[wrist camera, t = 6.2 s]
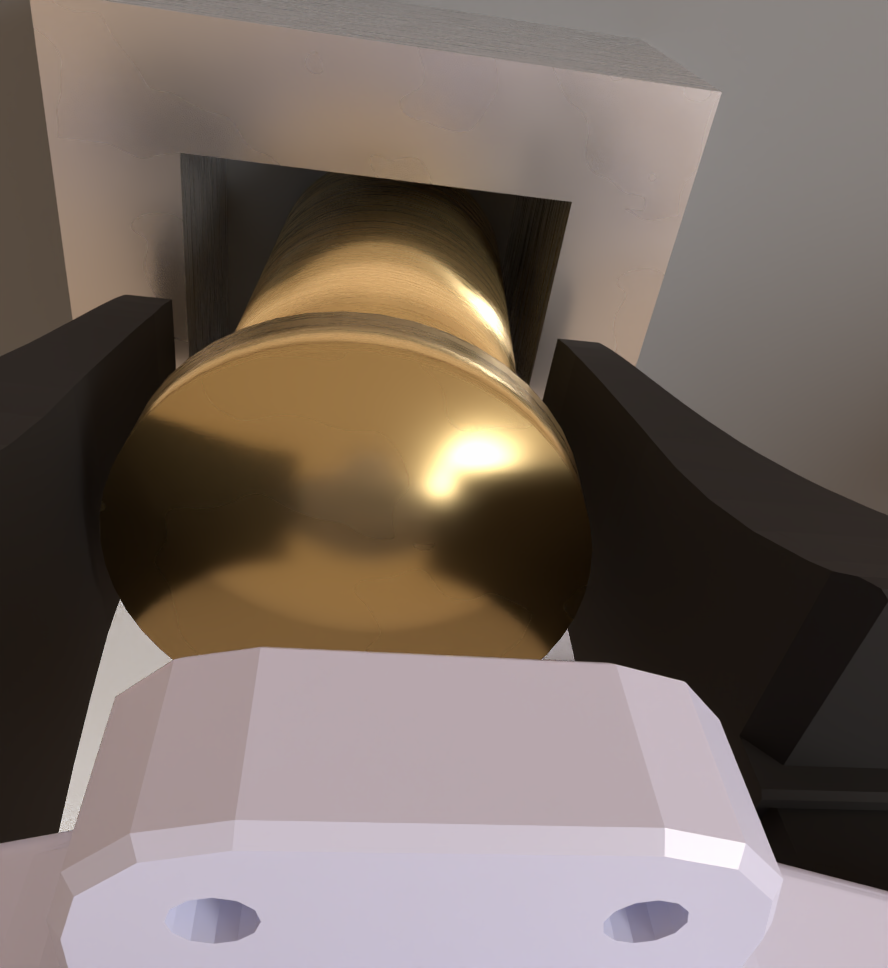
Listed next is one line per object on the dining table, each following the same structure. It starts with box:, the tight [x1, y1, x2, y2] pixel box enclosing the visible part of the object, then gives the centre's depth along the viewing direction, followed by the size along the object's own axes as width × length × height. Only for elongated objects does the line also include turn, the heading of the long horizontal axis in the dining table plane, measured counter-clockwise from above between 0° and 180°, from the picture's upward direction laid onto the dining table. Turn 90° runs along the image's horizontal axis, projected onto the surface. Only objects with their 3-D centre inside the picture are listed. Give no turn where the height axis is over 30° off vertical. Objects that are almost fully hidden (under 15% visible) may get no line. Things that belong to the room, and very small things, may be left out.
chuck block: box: [30, 0, 722, 400], centre depth 14 cm, size 8×8×4 cm
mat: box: [0, 0, 888, 515], centre depth 16 cm, size 23×16×1 cm
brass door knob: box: [100, 172, 592, 660], centre depth 12 cm, size 5×5×8 cm
